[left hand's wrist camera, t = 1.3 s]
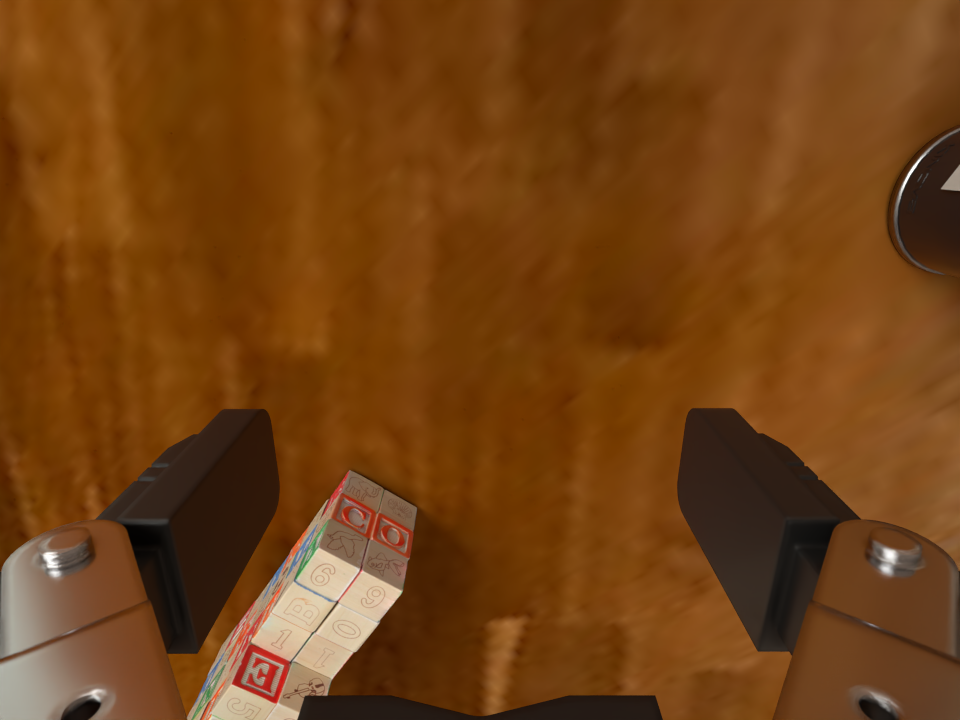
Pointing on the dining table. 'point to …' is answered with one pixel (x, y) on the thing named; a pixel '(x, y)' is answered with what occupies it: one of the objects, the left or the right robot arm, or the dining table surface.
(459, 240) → the dining table surface
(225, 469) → the left robot arm
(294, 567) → the stack of blocks
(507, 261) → the dining table surface
